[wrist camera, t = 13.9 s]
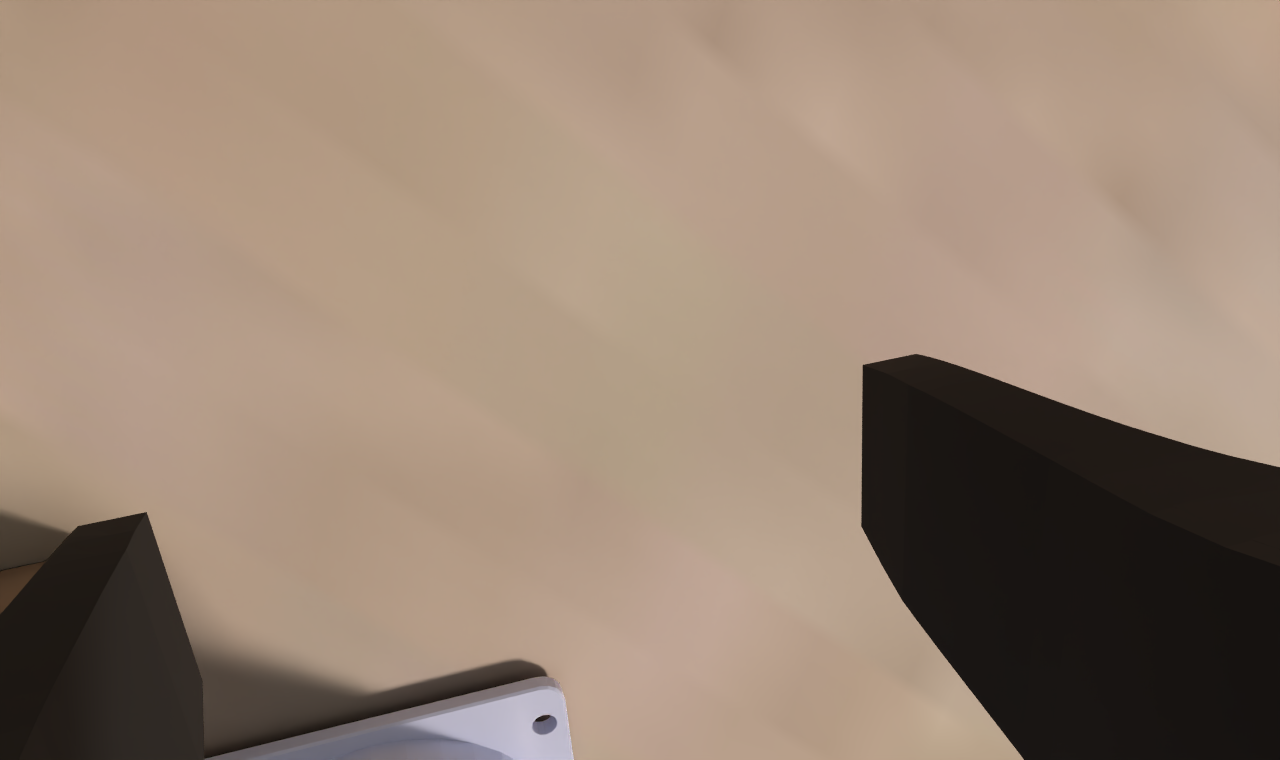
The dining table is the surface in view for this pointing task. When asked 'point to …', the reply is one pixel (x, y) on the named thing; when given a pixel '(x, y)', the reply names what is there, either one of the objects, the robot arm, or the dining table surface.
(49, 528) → the dining table surface
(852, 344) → the dining table surface
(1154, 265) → the dining table surface
